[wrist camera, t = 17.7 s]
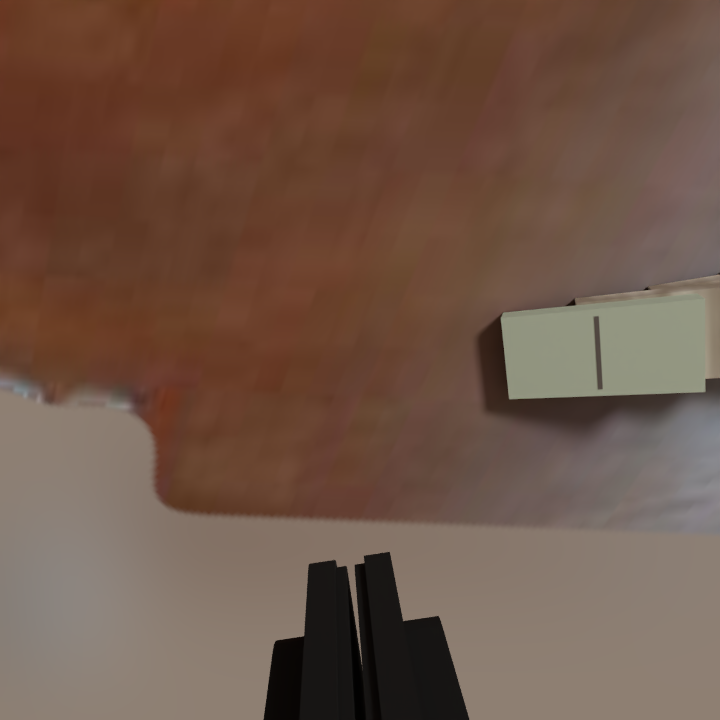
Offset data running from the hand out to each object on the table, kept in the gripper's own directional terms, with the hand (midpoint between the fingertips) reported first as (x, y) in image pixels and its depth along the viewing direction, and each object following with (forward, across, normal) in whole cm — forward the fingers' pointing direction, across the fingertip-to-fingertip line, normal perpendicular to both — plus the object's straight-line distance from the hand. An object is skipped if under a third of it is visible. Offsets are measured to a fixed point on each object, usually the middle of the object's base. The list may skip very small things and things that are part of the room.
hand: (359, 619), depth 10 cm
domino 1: (+20, -10, +1) cm, 23 cm away
